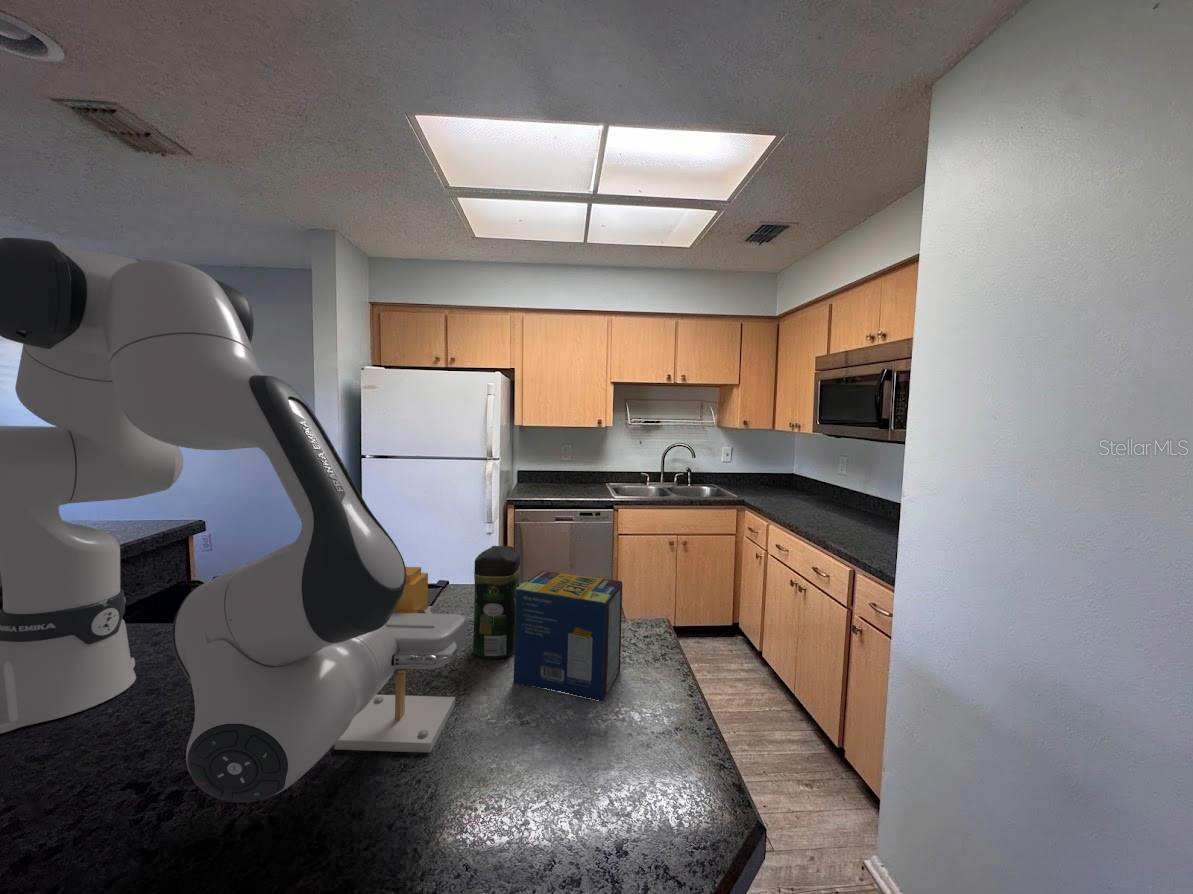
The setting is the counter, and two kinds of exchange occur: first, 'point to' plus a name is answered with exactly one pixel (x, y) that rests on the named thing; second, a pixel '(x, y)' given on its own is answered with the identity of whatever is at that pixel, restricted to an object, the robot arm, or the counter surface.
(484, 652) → the coffee jar
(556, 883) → the counter surface
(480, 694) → the counter surface
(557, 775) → the counter surface
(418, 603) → the tall orange stepped box
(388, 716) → the plate
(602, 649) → the protein box
